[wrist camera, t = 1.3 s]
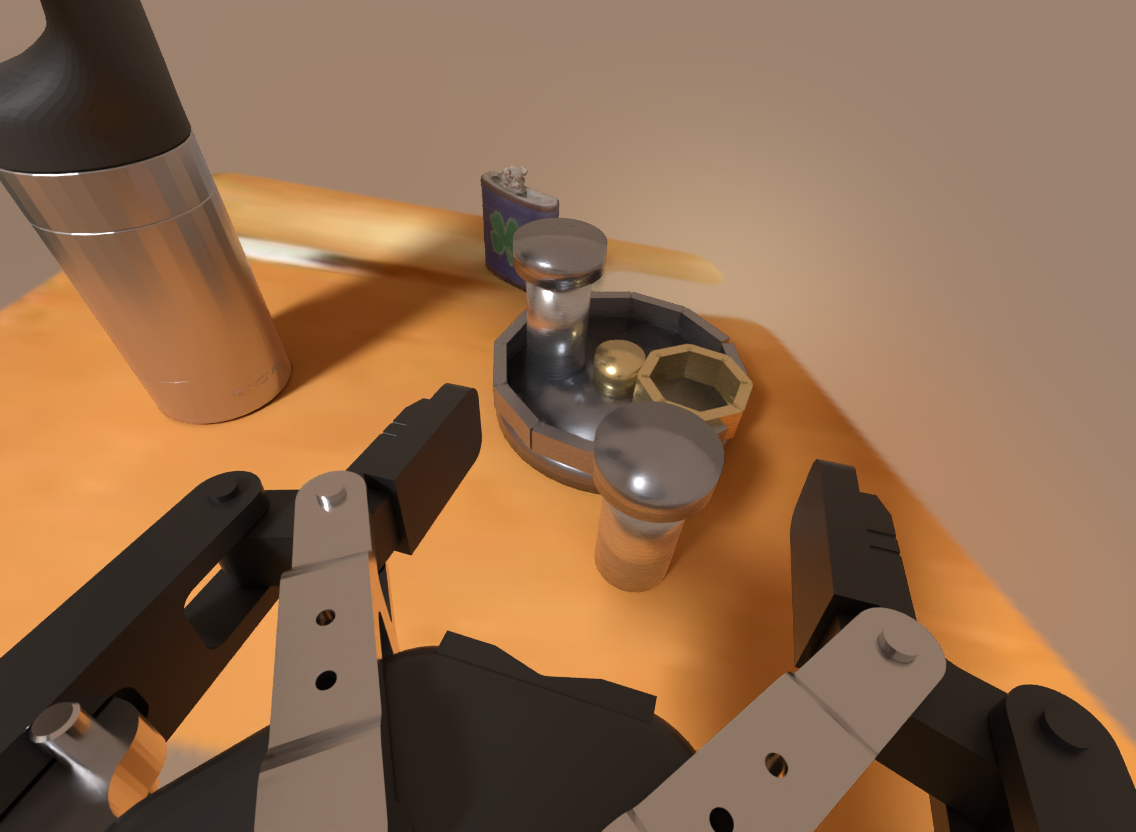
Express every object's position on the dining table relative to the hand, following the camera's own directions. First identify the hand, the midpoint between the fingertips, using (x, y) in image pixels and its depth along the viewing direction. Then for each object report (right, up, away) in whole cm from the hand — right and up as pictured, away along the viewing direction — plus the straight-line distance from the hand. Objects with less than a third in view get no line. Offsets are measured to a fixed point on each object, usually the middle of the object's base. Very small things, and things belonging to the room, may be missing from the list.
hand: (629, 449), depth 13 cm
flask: (-6, +14, +41) cm, 43 cm away
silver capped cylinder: (+2, -8, +19) cm, 21 cm away
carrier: (+2, +2, +28) cm, 29 cm away
